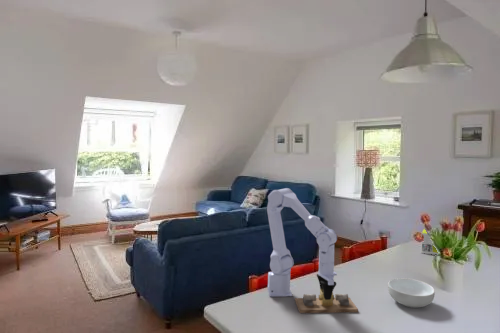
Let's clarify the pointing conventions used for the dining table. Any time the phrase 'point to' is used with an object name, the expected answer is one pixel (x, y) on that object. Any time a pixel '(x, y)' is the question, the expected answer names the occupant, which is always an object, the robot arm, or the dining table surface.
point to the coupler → (325, 302)
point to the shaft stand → (314, 306)
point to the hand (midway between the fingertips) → (325, 296)
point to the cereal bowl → (411, 292)
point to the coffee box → (427, 245)
